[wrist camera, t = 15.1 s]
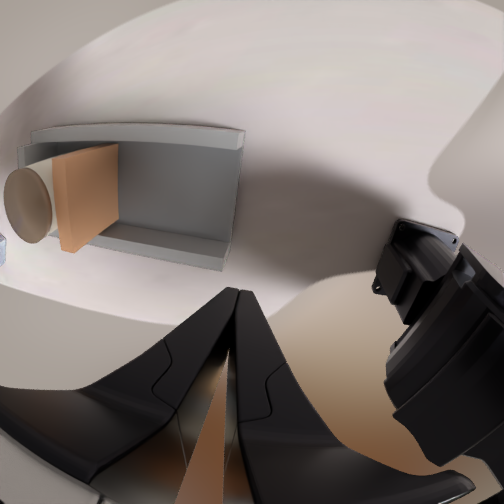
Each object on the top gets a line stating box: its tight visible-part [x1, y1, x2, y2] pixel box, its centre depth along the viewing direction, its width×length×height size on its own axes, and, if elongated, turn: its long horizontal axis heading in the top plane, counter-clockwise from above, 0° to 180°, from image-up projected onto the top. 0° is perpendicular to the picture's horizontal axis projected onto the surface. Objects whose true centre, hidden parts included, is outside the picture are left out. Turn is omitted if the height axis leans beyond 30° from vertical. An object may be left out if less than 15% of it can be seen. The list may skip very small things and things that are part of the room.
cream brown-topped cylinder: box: [4, 149, 82, 243], centre depth 16 cm, size 5×5×7 cm
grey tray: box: [17, 123, 246, 271], centre depth 17 cm, size 17×9×5 cm, turn 82°
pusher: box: [52, 143, 119, 253], centre depth 16 cm, size 1×6×6 cm, turn 172°
